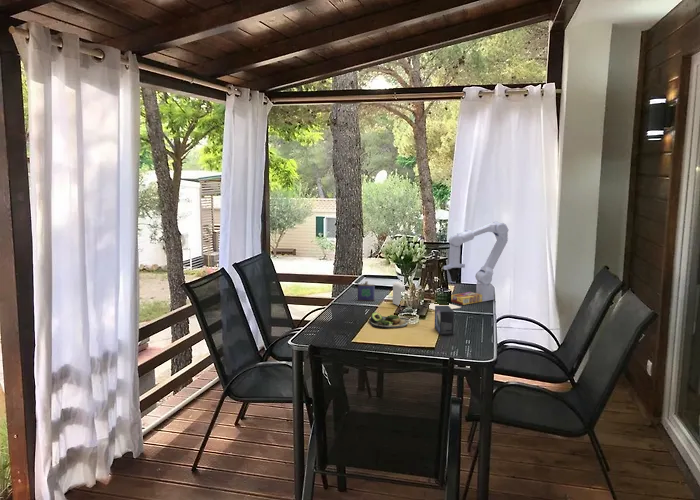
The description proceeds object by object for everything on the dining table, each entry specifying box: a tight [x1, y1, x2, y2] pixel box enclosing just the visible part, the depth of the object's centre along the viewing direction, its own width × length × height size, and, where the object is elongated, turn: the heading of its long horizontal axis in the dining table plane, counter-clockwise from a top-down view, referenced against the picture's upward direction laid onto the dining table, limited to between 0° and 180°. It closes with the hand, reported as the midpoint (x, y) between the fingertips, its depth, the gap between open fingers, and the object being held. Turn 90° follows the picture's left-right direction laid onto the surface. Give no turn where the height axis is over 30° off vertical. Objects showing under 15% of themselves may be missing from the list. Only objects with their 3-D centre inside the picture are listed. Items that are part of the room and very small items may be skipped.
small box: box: [434, 305, 455, 336], centre depth 238 cm, size 11×6×10 cm, turn 5°
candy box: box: [450, 291, 483, 306], centre depth 294 cm, size 9×4×15 cm
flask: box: [357, 281, 376, 302], centre depth 294 cm, size 9×3×11 cm, turn 87°
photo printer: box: [392, 281, 407, 307], centre depth 284 cm, size 10×4×12 cm, turn 26°
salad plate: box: [368, 312, 410, 329], centre depth 250 cm, size 19×18×5 cm
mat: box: [429, 302, 462, 311], centre depth 283 cm, size 16×14×1 cm
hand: (453, 281), depth 297 cm, fingers closed
